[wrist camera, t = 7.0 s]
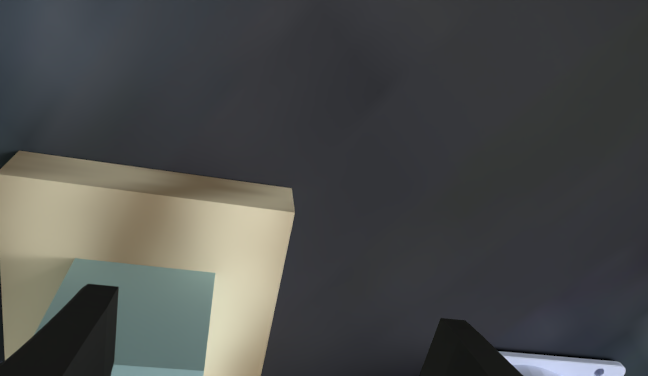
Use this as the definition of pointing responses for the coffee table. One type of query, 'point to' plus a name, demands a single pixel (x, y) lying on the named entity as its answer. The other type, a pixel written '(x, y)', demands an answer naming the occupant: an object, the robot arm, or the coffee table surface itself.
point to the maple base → (144, 243)
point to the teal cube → (149, 315)
